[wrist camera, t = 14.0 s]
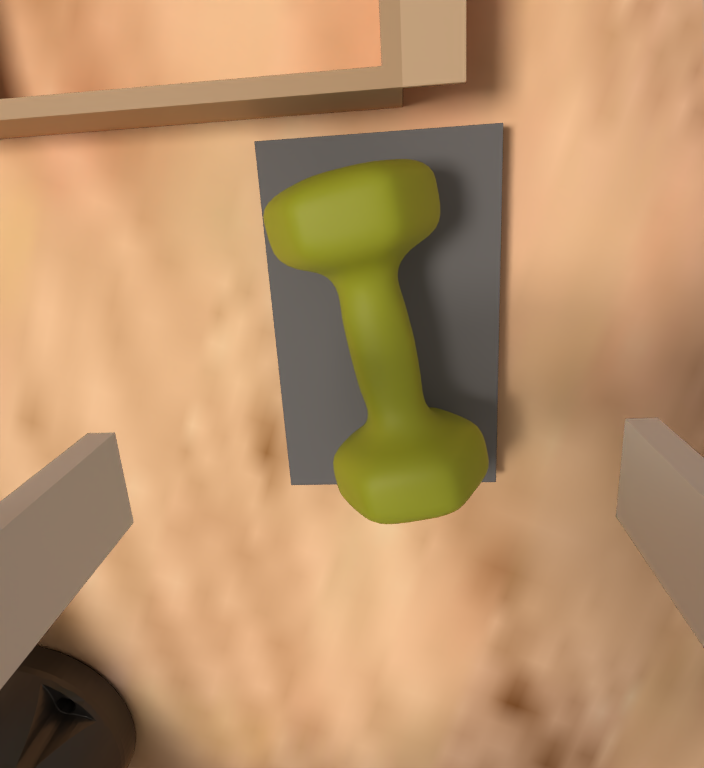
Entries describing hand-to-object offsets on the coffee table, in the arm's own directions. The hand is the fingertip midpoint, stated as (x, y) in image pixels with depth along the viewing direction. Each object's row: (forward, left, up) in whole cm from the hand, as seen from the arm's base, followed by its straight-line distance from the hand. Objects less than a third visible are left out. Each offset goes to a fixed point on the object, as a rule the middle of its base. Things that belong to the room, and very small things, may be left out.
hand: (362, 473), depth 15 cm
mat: (0, 0, -18) cm, 18 cm away
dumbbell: (0, 0, -17) cm, 17 cm away
